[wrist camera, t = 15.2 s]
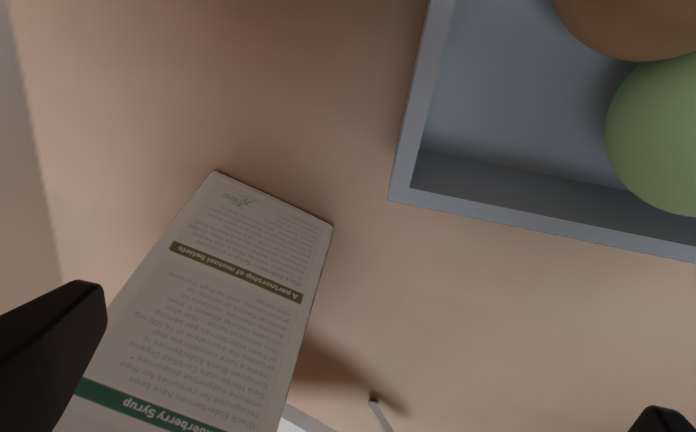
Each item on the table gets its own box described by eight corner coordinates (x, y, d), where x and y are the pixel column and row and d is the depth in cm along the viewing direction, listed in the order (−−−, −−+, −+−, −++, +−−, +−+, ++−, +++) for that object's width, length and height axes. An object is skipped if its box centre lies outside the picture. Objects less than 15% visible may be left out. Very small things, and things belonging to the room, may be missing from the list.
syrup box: (210, 164, 21) (-98, 539, 9) (341, 224, 22) (216, 651, 10) (178, 260, 24) (-83, 636, 12) (294, 311, 25) (155, 716, 13)
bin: (715, 218, 19) (765, 278, 16) (394, 152, 20) (386, 200, 17) (984, -193, 12) (1151, -216, 10) (488, -274, 13) (502, -319, 10)
